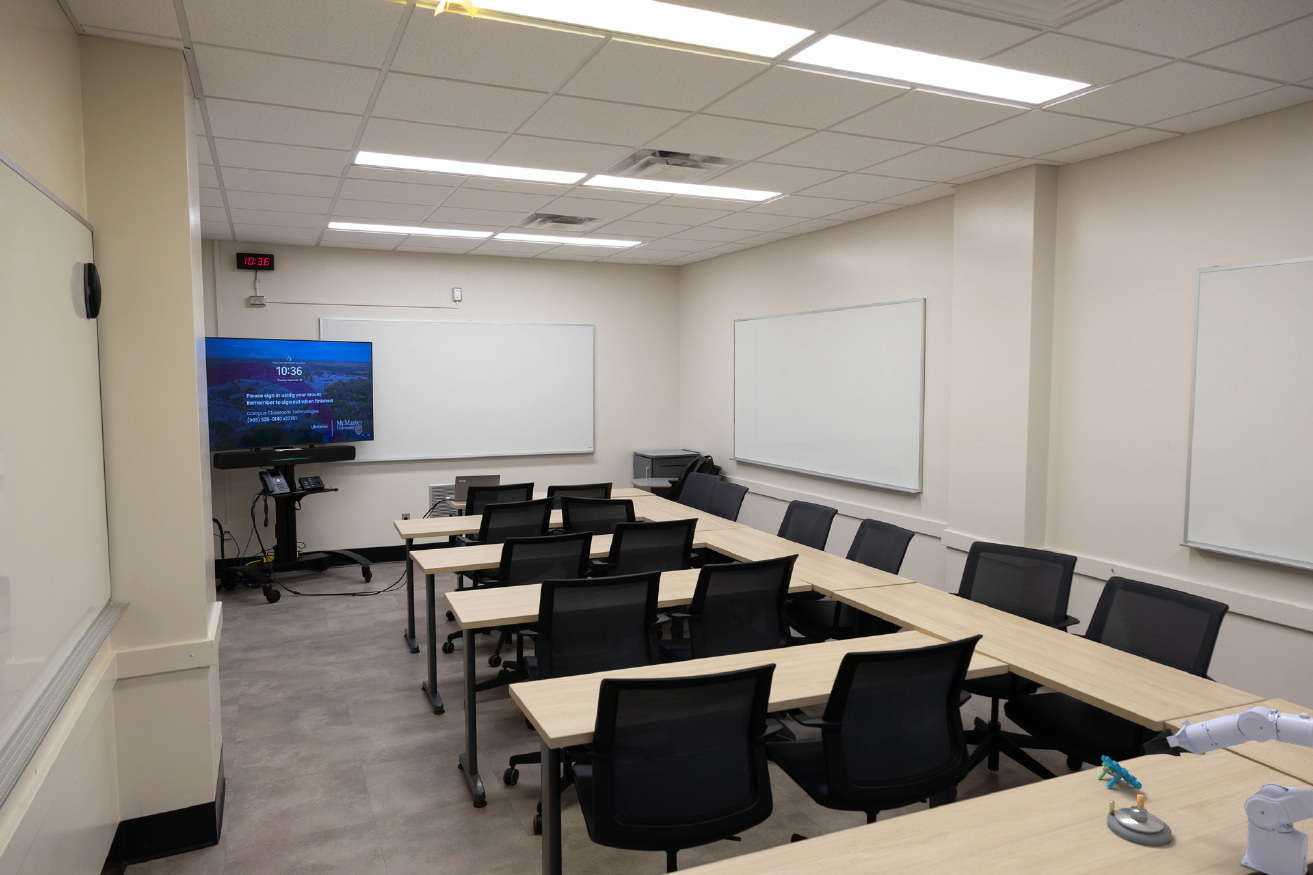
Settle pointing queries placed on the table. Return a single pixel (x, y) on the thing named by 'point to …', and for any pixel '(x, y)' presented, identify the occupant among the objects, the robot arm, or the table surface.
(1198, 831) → the table surface
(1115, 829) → the post base
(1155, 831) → the flange
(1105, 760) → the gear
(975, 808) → the table surface
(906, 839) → the table surface
